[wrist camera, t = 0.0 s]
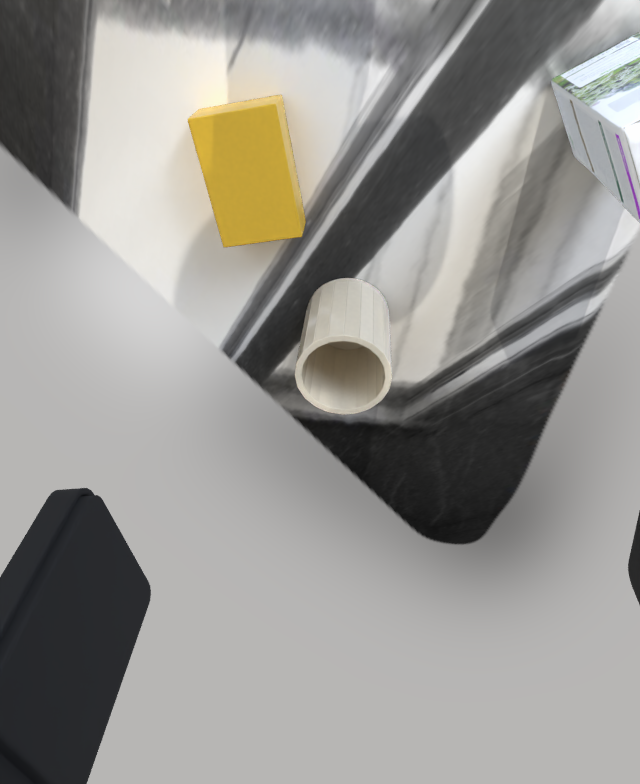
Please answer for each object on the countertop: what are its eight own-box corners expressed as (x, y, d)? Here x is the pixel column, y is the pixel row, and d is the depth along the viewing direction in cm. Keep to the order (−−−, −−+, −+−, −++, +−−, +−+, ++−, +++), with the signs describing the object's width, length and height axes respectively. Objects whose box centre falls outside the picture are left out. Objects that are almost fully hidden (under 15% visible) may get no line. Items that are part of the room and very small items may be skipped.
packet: (198, 109, 41) (186, 119, 38) (281, 94, 40) (275, 103, 37) (231, 232, 46) (223, 248, 44) (306, 222, 45) (302, 237, 43)
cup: (299, 283, 48) (286, 341, 41) (384, 272, 47) (386, 330, 40) (314, 354, 52) (304, 418, 45) (393, 346, 51) (396, 410, 44)
